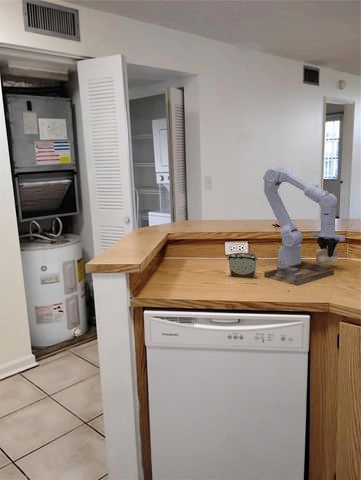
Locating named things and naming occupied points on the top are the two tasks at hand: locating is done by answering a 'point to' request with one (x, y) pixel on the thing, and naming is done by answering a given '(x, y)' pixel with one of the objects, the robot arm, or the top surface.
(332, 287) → the top surface
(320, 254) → the grey rectangular block
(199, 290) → the top surface
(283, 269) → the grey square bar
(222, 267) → the top surface
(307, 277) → the walnut tray
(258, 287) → the top surface
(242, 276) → the food container
